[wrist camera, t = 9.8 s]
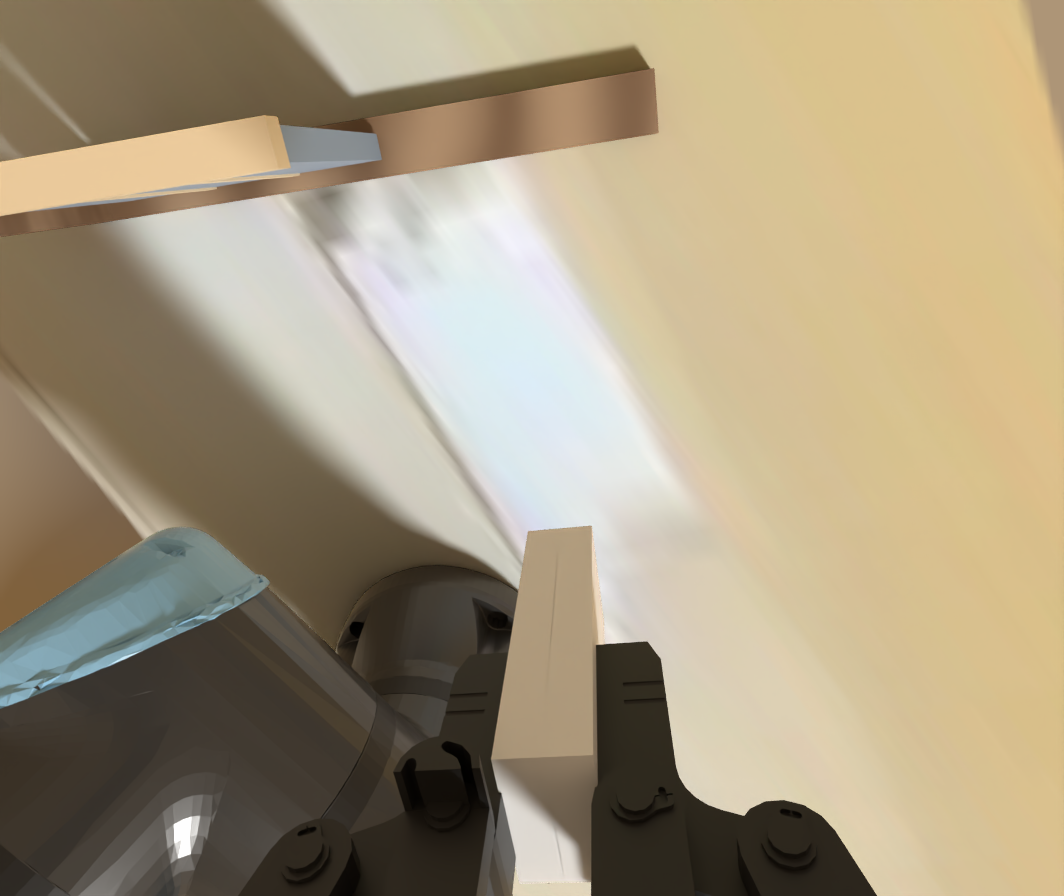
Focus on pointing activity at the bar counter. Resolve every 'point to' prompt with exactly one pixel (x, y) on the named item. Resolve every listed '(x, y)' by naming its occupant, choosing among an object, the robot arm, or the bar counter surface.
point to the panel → (177, 163)
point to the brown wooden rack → (424, 144)
